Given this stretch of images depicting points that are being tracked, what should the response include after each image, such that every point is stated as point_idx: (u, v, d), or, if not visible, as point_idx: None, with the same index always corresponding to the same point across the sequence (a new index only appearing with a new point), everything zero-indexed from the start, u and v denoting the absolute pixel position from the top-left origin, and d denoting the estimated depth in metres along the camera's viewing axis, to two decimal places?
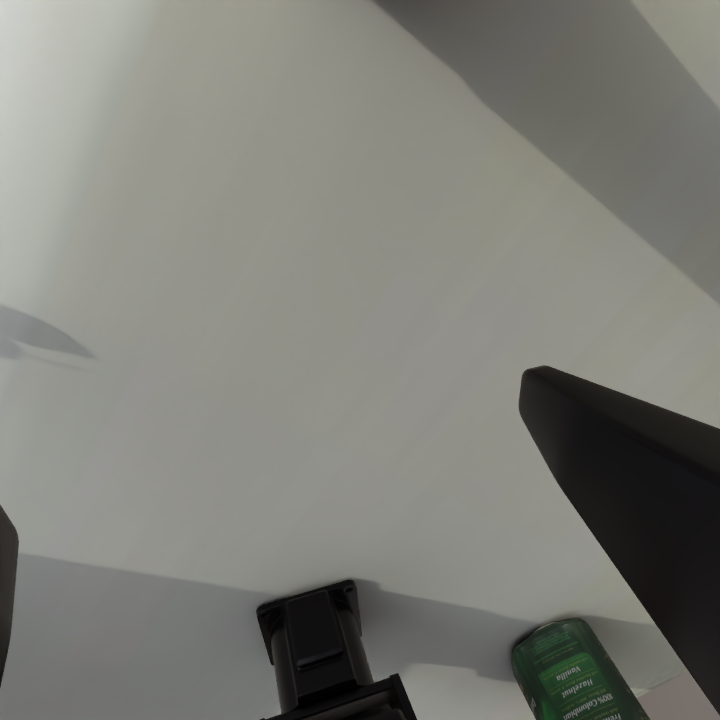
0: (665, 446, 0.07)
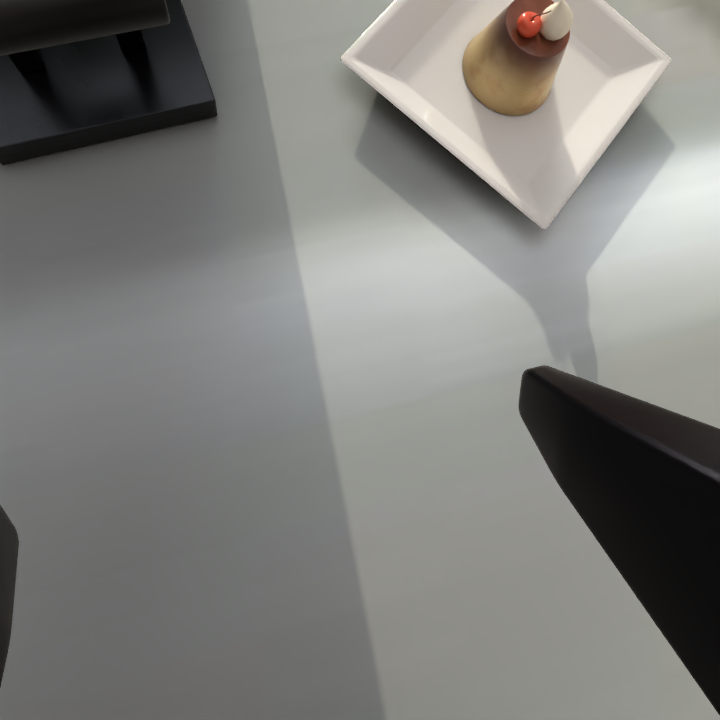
0: (665, 446, 0.07)
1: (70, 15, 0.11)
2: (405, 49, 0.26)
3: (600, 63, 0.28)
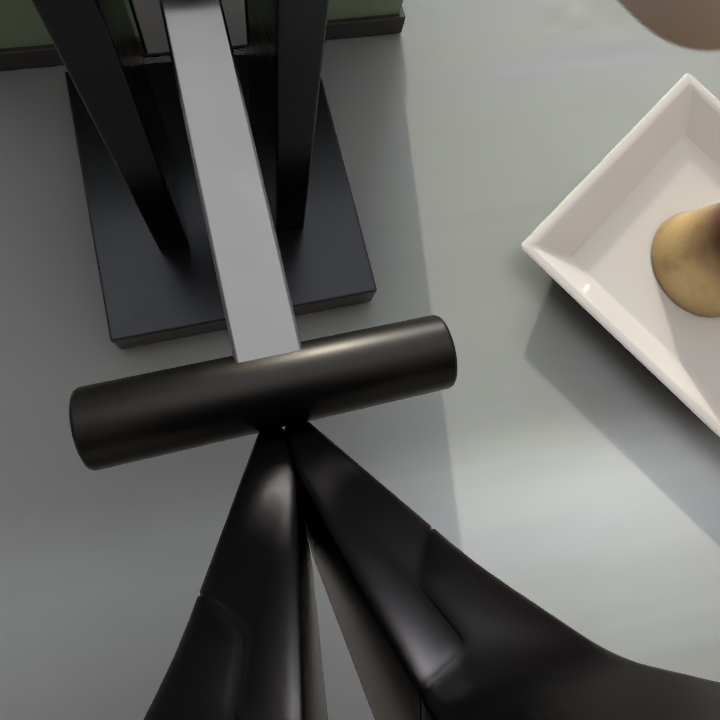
0: (344, 536, 0.06)
1: (345, 407, 0.09)
2: (588, 233, 0.22)
3: None
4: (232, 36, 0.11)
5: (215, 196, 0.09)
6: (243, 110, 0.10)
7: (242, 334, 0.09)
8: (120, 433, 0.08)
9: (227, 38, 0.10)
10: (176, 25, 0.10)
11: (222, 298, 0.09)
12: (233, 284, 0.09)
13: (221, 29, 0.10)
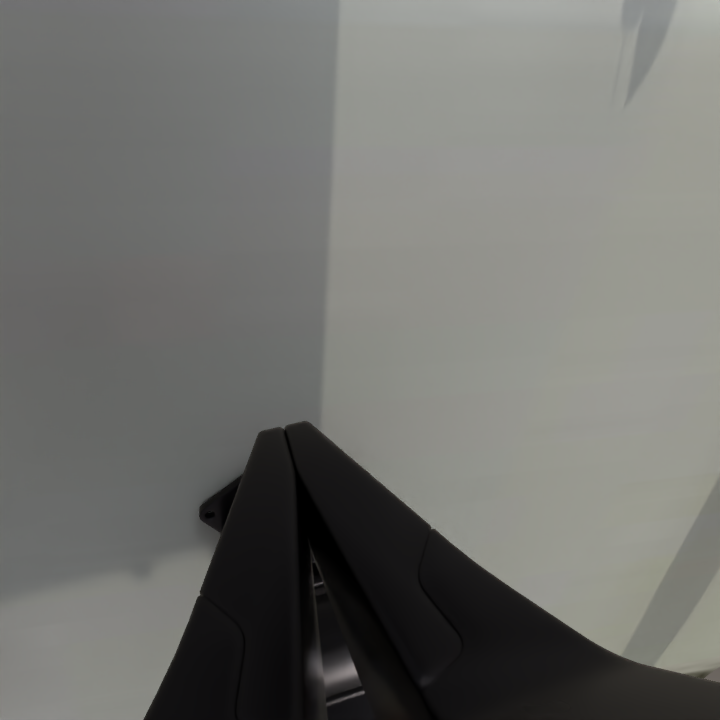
0: (344, 536, 0.06)
1: None
2: None
3: None
4: None
5: None
6: None
7: None
8: None
9: None
10: None
11: None
12: None
13: None
